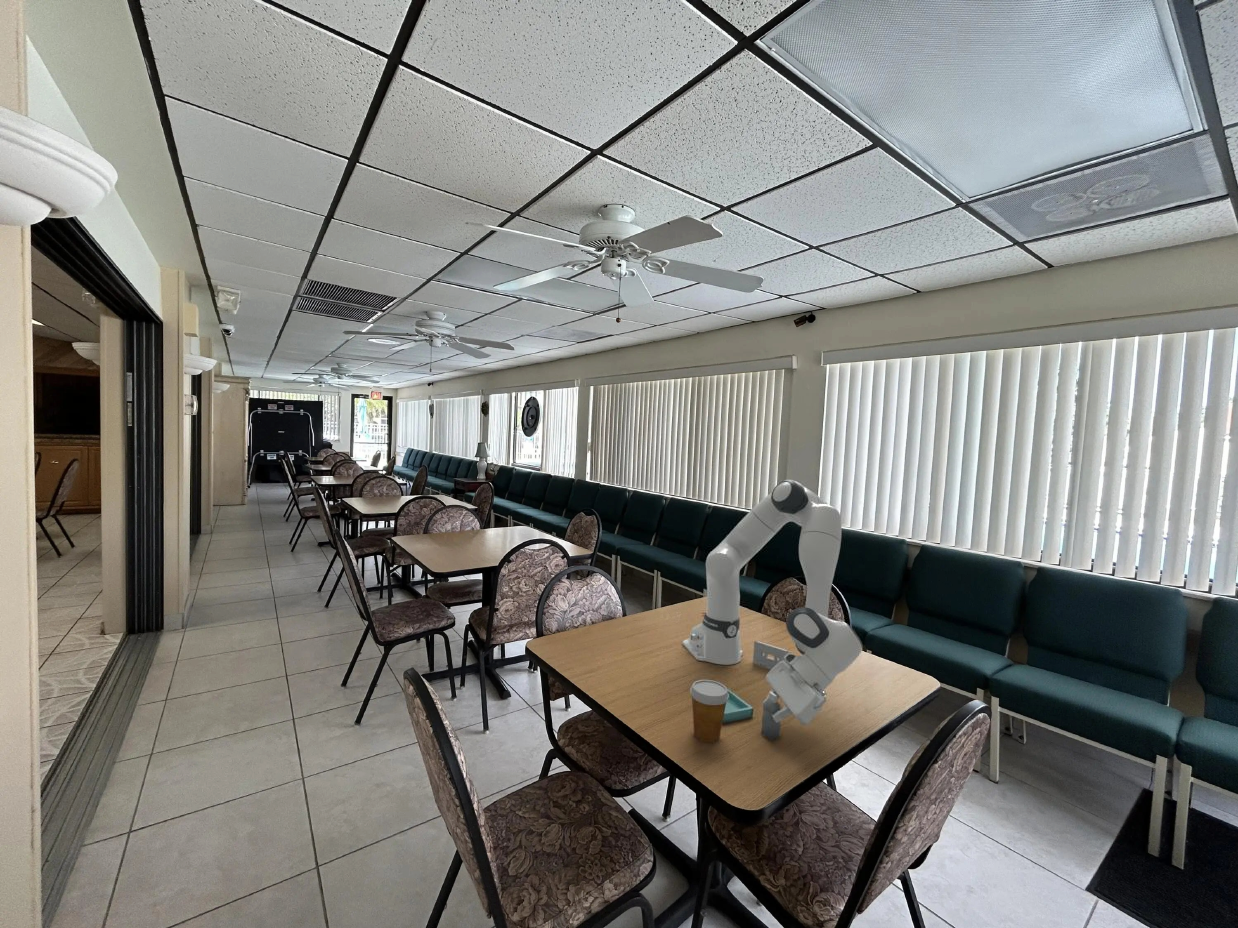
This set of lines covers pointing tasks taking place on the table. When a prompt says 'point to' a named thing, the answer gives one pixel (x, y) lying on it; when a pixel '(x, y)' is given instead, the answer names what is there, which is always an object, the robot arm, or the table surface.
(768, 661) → the cassette
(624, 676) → the table surface
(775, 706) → the gray bottle
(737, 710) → the tray
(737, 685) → the table surface
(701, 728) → the disposable coffee cup
